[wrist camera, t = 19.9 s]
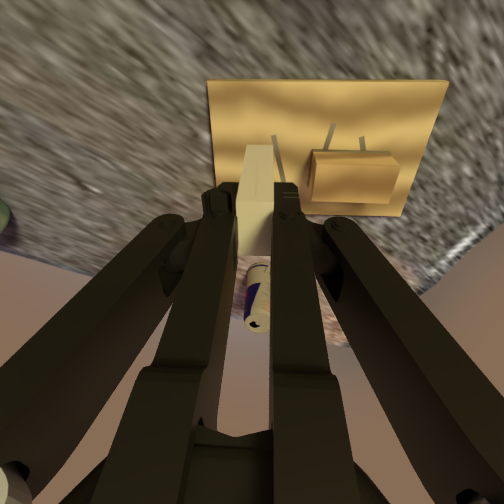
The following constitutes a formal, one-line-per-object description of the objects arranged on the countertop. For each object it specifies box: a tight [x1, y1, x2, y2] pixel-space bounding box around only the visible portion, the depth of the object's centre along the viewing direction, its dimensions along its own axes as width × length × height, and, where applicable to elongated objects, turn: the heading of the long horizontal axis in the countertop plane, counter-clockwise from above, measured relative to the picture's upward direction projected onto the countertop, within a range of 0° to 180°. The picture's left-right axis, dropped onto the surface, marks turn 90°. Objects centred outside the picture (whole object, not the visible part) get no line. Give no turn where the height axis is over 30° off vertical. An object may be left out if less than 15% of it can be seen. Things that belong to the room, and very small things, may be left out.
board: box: [207, 79, 449, 216], centre depth 40 cm, size 18×28×2 cm, turn 90°
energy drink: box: [244, 263, 270, 333], centre depth 51 cm, size 5×5×12 cm
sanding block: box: [307, 149, 401, 204], centre depth 39 cm, size 5×10×5 cm, turn 89°
